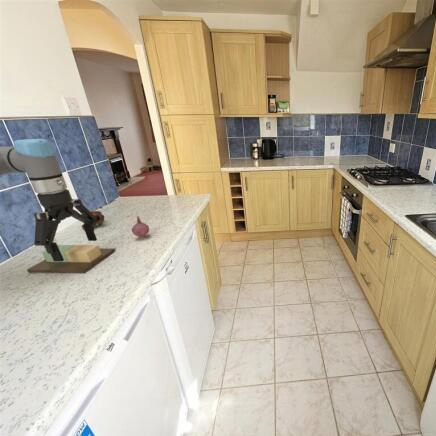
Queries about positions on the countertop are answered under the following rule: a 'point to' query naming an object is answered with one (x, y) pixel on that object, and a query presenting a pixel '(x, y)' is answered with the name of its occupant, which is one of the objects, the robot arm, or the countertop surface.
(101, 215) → the pottery mug
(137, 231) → the vegetable
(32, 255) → the countertop surface
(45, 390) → the countertop surface
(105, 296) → the countertop surface
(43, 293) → the countertop surface
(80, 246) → the sand pad
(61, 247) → the sage pad
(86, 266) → the board
